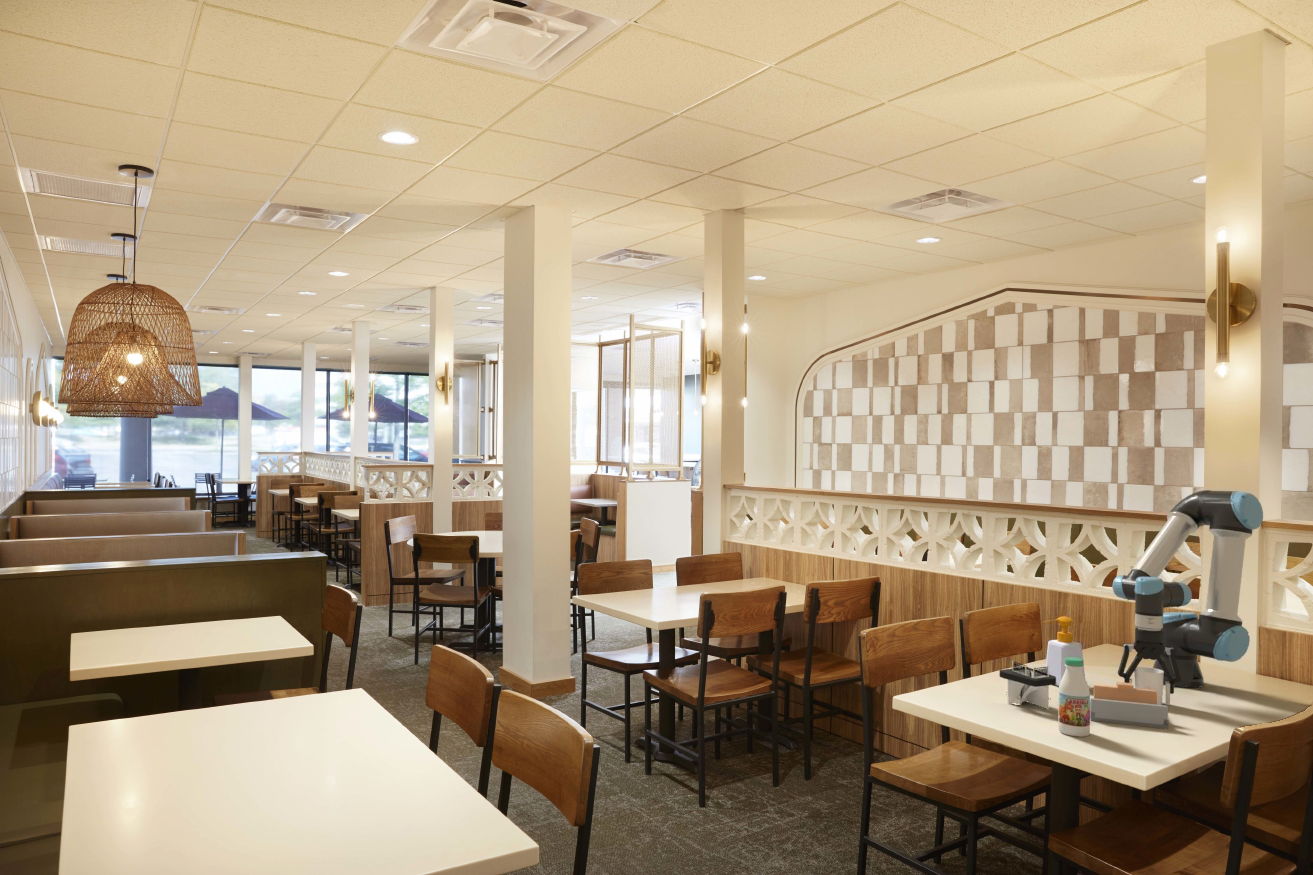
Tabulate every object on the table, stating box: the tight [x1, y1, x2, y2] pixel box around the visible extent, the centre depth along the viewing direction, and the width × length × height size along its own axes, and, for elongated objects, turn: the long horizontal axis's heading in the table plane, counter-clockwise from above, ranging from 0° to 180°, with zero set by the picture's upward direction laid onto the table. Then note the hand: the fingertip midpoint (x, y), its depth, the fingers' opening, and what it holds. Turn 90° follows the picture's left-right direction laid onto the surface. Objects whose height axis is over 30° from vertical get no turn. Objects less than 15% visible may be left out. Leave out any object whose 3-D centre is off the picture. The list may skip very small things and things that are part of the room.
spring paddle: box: [1093, 681, 1157, 705], centre depth 251 cm, size 16×3×8 cm, turn 69°
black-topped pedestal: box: [999, 660, 1056, 710], centre depth 260 cm, size 28×26×13 cm
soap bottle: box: [1042, 615, 1086, 687], centre depth 285 cm, size 10×14×22 cm
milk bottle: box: [1057, 657, 1091, 737], centre depth 236 cm, size 8×8×20 cm
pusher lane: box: [1090, 697, 1169, 730], centre depth 252 cm, size 19×19×6 cm
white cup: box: [1133, 666, 1164, 705], centre depth 265 cm, size 8×8×10 cm
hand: (1148, 702), depth 265 cm, fingers open, 9 cm apart
